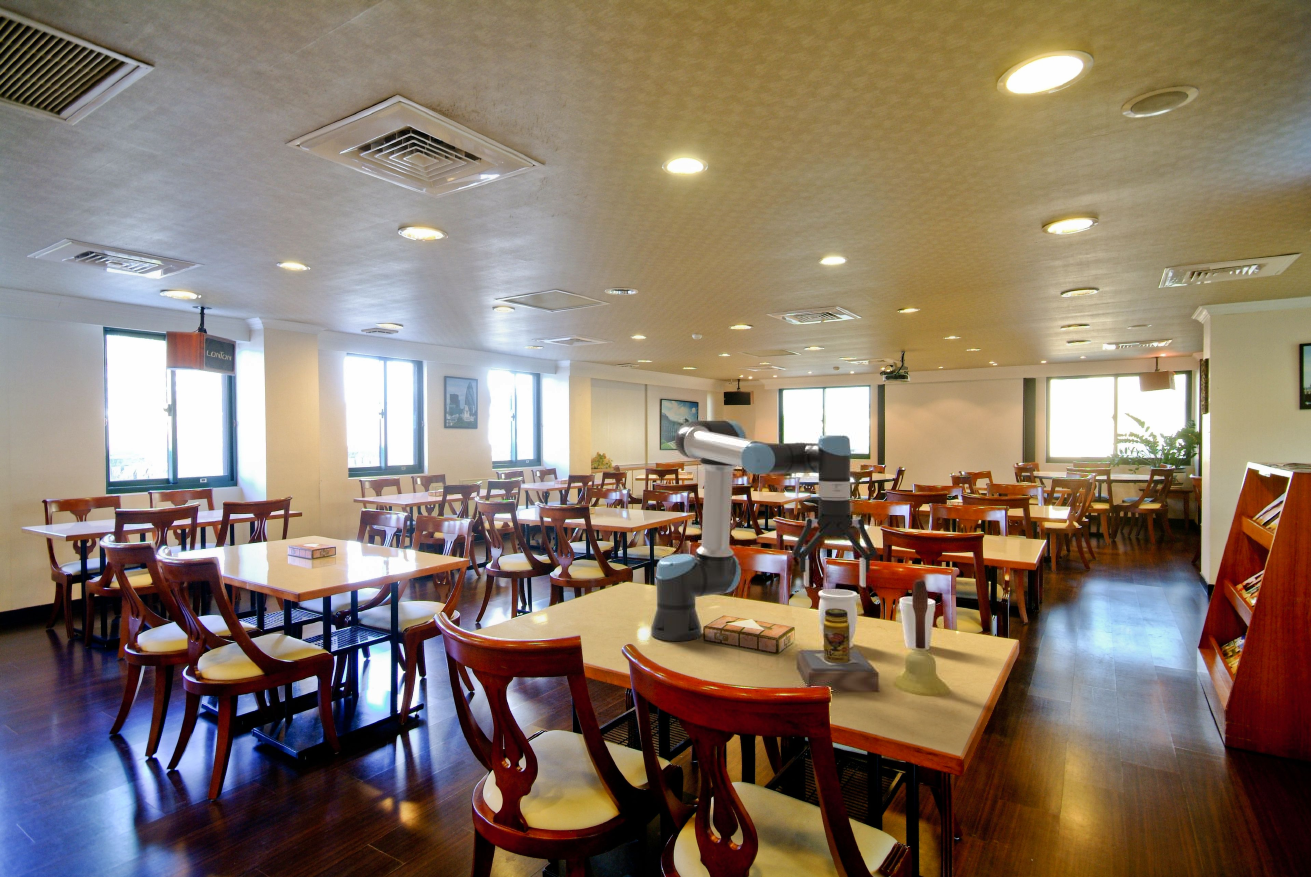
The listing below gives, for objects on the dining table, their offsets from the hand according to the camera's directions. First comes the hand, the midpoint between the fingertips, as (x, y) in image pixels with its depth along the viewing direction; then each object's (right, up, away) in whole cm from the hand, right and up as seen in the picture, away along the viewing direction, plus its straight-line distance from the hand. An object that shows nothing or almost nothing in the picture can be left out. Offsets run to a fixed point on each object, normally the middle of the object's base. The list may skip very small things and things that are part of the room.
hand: (834, 585), depth 164 cm
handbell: (+19, -23, -5) cm, 30 cm away
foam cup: (+30, -23, +26) cm, 46 cm away
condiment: (0, -18, 0) cm, 18 cm away
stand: (0, -23, 0) cm, 23 cm away
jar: (+8, -23, +27) cm, 37 cm away
